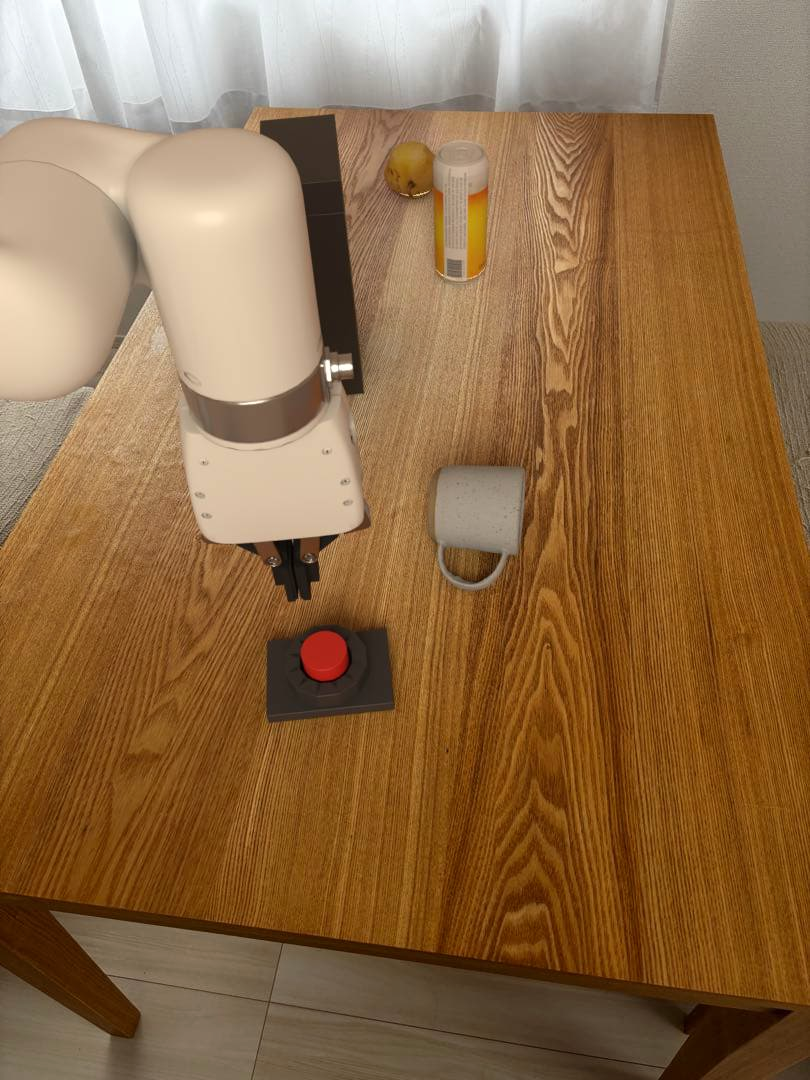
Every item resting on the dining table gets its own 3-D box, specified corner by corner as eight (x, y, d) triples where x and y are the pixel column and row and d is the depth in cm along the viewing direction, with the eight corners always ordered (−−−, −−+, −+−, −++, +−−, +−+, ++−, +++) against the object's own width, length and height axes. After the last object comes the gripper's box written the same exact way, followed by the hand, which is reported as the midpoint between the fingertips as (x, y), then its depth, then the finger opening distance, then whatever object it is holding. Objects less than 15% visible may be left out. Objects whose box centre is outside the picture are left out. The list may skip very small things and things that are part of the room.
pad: (268, 723, 68) (262, 705, 66) (269, 648, 73) (262, 628, 71) (394, 710, 69) (392, 691, 66) (387, 635, 73) (385, 615, 71)
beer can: (487, 258, 106) (491, 138, 95) (483, 288, 103) (487, 167, 91) (438, 256, 107) (436, 137, 95) (432, 286, 103) (429, 165, 92)
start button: (304, 684, 68) (301, 672, 66) (303, 644, 70) (300, 633, 68) (350, 679, 68) (347, 667, 66) (347, 640, 70) (345, 628, 69)
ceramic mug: (437, 499, 82) (435, 442, 76) (524, 506, 81) (529, 449, 75) (422, 591, 76) (418, 537, 70) (515, 600, 75) (520, 546, 69)
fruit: (436, 173, 109) (448, 132, 114) (383, 157, 108) (397, 117, 114) (425, 220, 114) (436, 179, 120) (374, 205, 114) (388, 165, 120)
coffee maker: (204, 409, 92) (139, 198, 73) (209, 337, 99) (152, 129, 80) (364, 393, 92) (340, 179, 73) (357, 323, 100) (334, 113, 81)
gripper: (390, 325, 48) (401, 532, 63) (121, 348, 48) (194, 552, 62) (403, 417, 44) (412, 619, 58) (104, 444, 43) (188, 640, 57)
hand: (299, 583), depth 60 cm, fingers closed
